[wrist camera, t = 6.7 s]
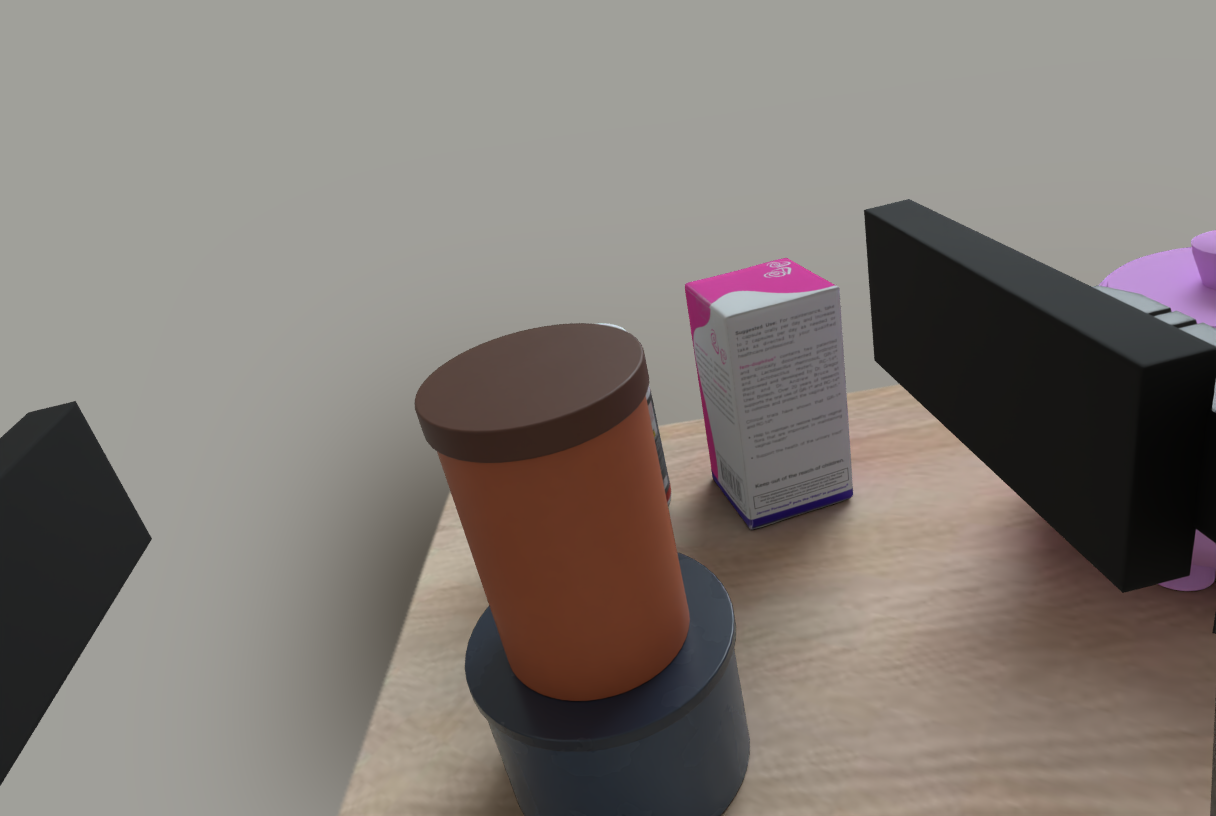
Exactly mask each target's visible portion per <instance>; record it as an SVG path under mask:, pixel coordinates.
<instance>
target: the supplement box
mask: <svg viewBox="0 0 1216 816" xmlns="http://www.w3.org/2000/svg"><path fill="white" fill-rule="evenodd" d="M685 292H686V299H687V306H688V313H689V319H690V326H691V334H692V340H693V347H694V354H695V360H696V366H697V373H698V380H699V387H700V393H701V400H702V407H703V414H704V421H705V428H706V435H707V442H708V448H709V454H710V462H711V470H712V477H713V479H714V481H715V482H716V483H717V485H718V486H719V488H720V489H721V490H722V492H723V493H724V495H725V496H726V497H727V499H728V500H729V501H730V503H731V504H732V505H733V507H734V508H735V509H736V511H737V512H738V513H739V515H740V516H741V517H742V519H743V520H744V521H745V523H746V524H747V525H748V527H749V528H750V529H755V528H760V527H763V526H766V525H769V524H772V523H775V522H778V521H781V520H784V519H787V518H790V517H793V516H796V515H799V514H803V513H806V512H809V511H812V510H815V509H819V508H822V507H825V506H828V505H831V504H835V503H838V502H841V501H843V500H847V499H849V498H851V497H852V495H853V486H852V469H851V453H850V439H849V423H848V409H847V395H846V380H845V365H844V352H843V335H842V322H841V306H840V290H839V287H838V286H836V285H834V284H832V283H830V282H829V281H827V280H825V279H823V278H821V277H820V276H818V275H816V274H814V273H812V272H811V271H809V270H807V269H805V268H804V267H802V266H800V265H798V264H796V263H795V262H793V261H791V260H789V259H788V258H783V259H778V260H775V261H770V262H767V263H763V264H759V265H756V266H752V267H749V268H746V269H741V270H738V271H734V272H730V273H726V274H722V275H718V276H714V277H710V278H706V279H702V280H697V281H693V282H689V283H686V284H685Z"/></svg>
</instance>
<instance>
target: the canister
mask: <svg viewBox="0 0 1216 816" xmlns="http://www.w3.org/2000/svg"><path fill="white" fill-rule="evenodd" d="M648 386H649V375H648V370H647V365H646V360H645V355H644V350H643V348H642V345H641V343H640V342H639V341H638V339H637V338H636V337H634V336H633V335H632V334H630V333H628V332H626V331H624V330H622V329H619V328H616V327H612V326H607V325H600V324H586V323H581V324H580V323H579V324H559V325H552V326H544V327H539V328H533V329H528V330H524V331H520V332H516V333H513V334H509V335H505V336H502V337H499V338H497V339H493V340H491V341H488V342H486V343H483V344H480V345H478V346H476V347H474V348H472V349H469V350H467V351H465V352H464V353H461V354H460V355H458V356H456V357H454V358H453V359H451V360H449V361H448V362H446V363H445V364H444V365H442V366H440V367H439V368H438V369H437V370H435V371H434V372H433V373H432V374H431V375H430V376H429V377H428V378H427V379H426V380H425V381H424V382H423V384H422V385H421V386H420V388H419V390H418V392H417V394H416V398H415V410H416V413H417V416H418V419H419V422H420V425H421V428H422V431H423V433H424V436H425V438H426V440H427V442H428V443H429V444H430V445H431V447H432V448H433V449H435V450H436V451H437V453H438V455H439V459H440V461H441V464H442V467H443V470H444V473H445V476H446V479H447V482H448V485H449V488H450V491H451V494H452V497H453V500H454V503H455V506H456V509H457V512H458V514H459V517H460V520H461V523H462V526H463V529H464V532H465V535H466V538H467V541H468V544H469V547H470V550H471V553H472V556H473V559H474V562H475V565H476V567H477V570H478V573H479V576H480V579H481V582H482V585H483V588H484V591H485V594H486V597H487V600H488V603H489V606H490V609H491V612H492V615H493V618H494V620H495V623H496V626H497V629H498V632H499V635H500V638H501V641H502V644H503V647H504V650H505V653H506V656H507V659H508V662H509V664H510V667H511V669H512V671H513V672H514V674H515V675H516V677H517V678H518V679H519V680H520V681H521V682H522V683H523V684H525V685H526V686H527V687H529V688H530V689H532V690H534V691H536V692H537V693H539V694H542V695H545V696H548V697H551V698H555V699H560V700H568V701H590V700H598V699H604V698H608V697H612V696H616V695H619V694H622V693H625V692H627V691H630V690H632V689H634V688H636V687H638V686H640V685H642V684H644V683H645V682H647V681H649V680H650V679H652V678H653V677H655V676H656V675H657V674H659V673H660V672H661V671H662V670H663V669H664V668H666V667H667V666H668V665H669V664H670V663H671V661H672V660H673V659H674V658H675V657H676V655H677V654H678V652H679V651H680V649H681V648H682V646H683V644H684V642H685V639H686V637H687V633H688V630H689V622H690V617H689V609H688V604H687V599H686V594H685V589H684V584H683V579H682V574H681V569H680V564H679V559H678V554H677V549H676V544H675V539H674V534H673V529H672V524H671V519H670V514H669V509H668V504H667V499H666V494H665V489H664V484H663V479H662V474H661V469H660V464H659V459H658V454H657V449H656V445H655V440H654V435H653V430H652V425H651V420H650V415H649V410H648V405H647V400H646V393H647V390H648Z"/></svg>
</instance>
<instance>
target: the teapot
mask: <svg viewBox="0 0 1216 816" xmlns="http://www.w3.org/2000/svg"><path fill="white" fill-rule="evenodd" d="M1191 245H1192V247H1187V248H1181V249H1174V250H1168V251H1163V252H1159V253H1155V254H1151V255H1147V256H1144V257H1141V258H1138V259H1136V260H1133V261H1131V262H1128V263H1127V264H1125V265H1123V266H1121V267H1120V268H1118V269H1116V270H1115V271H1113V272H1112V273H1111V274H1109V275H1108V276H1107V277H1106V278H1105V279H1104V280H1103V281H1102V282H1101V283H1100V284H1099V286H1104V287H1109V288H1114V289H1119V290H1124V291H1129V292H1134V293H1138V294H1141V295H1144V296H1146V297H1148V298H1150V299H1152V300H1155V301H1157V302H1159V303H1161V304H1163V305H1166V306H1168V307H1170V308H1171V311H1172V312H1173V311H1179V312H1181V313H1183V314H1185V315H1188V316H1190V317H1192V318H1194V319H1196V322H1197V324H1199V323H1205V324H1207V325H1210V326H1212V327H1214V328H1216V230H1214V231H1210V232H1206V233H1203V234H1200V235H1198V236H1196V237H1195V238H1193V239H1192V241H1191ZM1215 575H1216V543H1214V542H1213V541H1212V540H1210V539H1209V538H1208V537H1206V536H1205V535H1204V534H1202V533H1201V532H1200V531H1198V530H1197V529H1196V533H1195V540H1194V548H1193V555H1192V563H1191V570H1190V576H1187V577H1183V578H1179V579H1175V580H1171V581H1167V582H1163V583H1159V585H1161V586H1163V587H1167V588H1170V589H1174V590H1180V591H1196V590H1201V589H1204V588H1207V587H1209V586H1210V585H1211V584H1212V583H1213V582H1214V580H1215Z"/></svg>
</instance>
